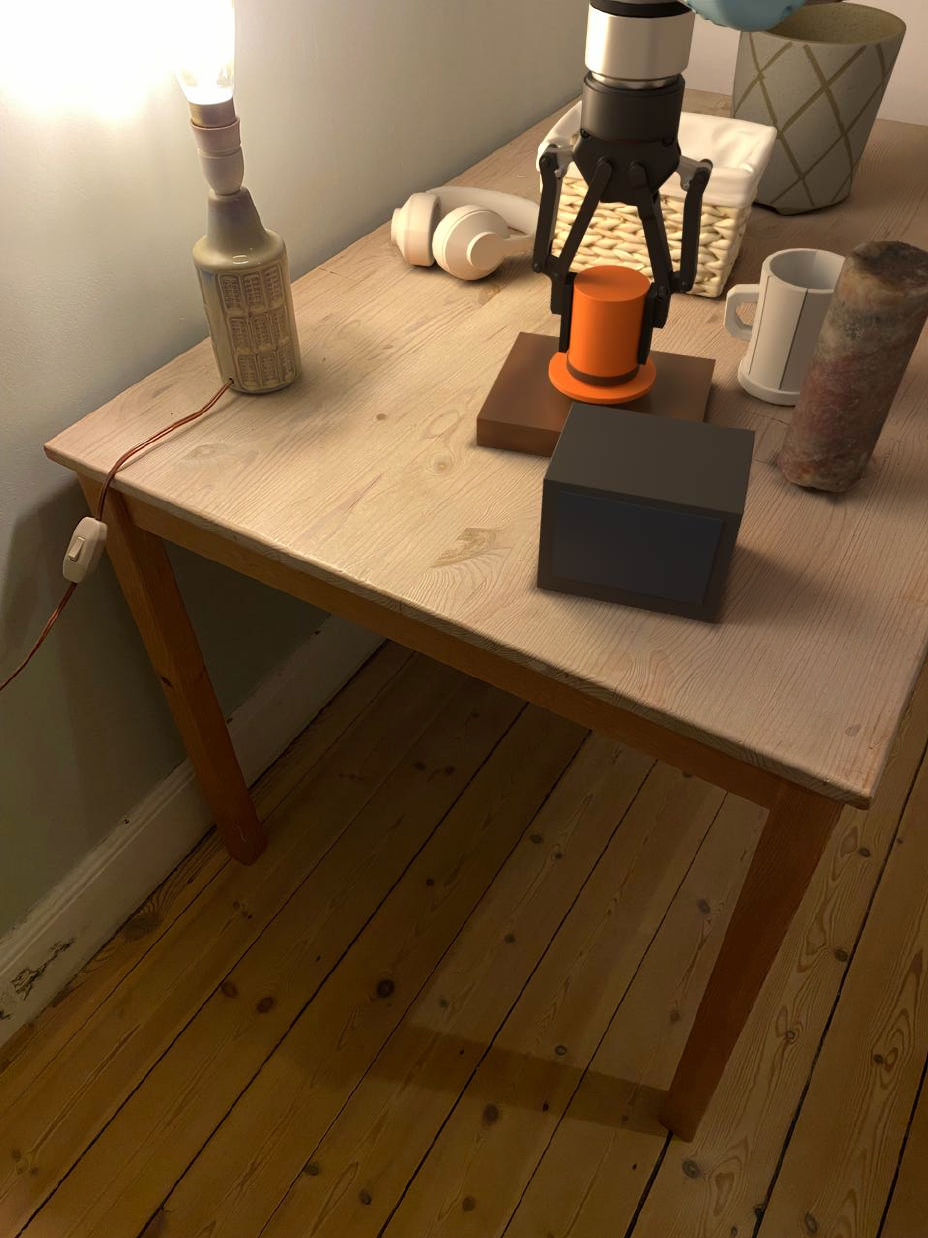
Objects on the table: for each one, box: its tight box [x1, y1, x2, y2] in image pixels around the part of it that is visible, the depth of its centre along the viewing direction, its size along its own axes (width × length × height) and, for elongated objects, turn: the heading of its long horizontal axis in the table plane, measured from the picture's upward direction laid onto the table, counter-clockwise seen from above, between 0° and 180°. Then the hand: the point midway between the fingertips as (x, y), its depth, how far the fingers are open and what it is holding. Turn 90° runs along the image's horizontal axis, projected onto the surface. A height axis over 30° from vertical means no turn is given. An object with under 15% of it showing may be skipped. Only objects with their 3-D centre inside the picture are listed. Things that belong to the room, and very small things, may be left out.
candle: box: [776, 240, 928, 493], centre depth 75 cm, size 8×7×20 cm
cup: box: [722, 247, 846, 407], centre depth 88 cm, size 10×9×12 cm
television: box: [536, 402, 757, 624], centre depth 71 cm, size 14×10×11 cm
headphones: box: [390, 185, 540, 281], centre depth 111 cm, size 18×8×20 cm
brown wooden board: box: [475, 331, 717, 458], centre depth 88 cm, size 20×16×3 cm
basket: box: [535, 99, 777, 298], centre depth 105 cm, size 24×16×15 cm
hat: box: [549, 265, 656, 404], centre depth 83 cm, size 10×10×9 cm
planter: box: [728, 1, 907, 216], centre depth 117 cm, size 19×19×20 cm
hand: (604, 350), depth 84 cm, fingers closed on hat, 7 cm apart
